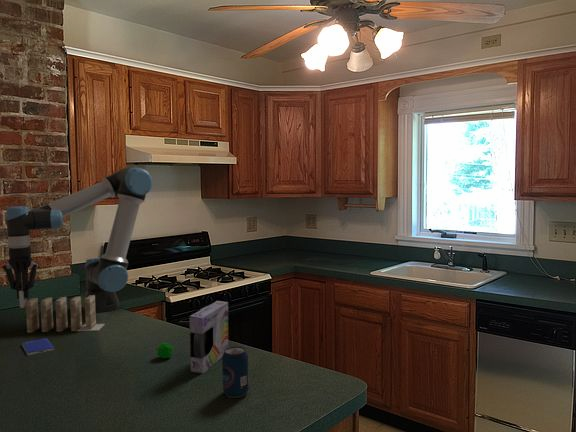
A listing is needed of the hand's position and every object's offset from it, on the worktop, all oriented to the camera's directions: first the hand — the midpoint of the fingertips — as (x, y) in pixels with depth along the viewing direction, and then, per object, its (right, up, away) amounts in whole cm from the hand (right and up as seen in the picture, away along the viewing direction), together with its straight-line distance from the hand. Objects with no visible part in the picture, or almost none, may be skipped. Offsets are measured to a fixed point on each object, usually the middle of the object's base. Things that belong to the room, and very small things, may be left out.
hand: (23, 306), depth 194 cm
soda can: (+88, -13, -58) cm, 107 cm away
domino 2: (+9, -9, +1) cm, 13 cm away
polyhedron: (+63, -11, -31) cm, 71 cm away
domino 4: (+20, -9, +2) cm, 22 cm away
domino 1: (+3, -9, +1) cm, 10 cm away
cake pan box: (+78, -11, -36) cm, 87 cm away
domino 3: (+14, -9, +2) cm, 17 cm away
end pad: (+25, -9, +2) cm, 27 cm away
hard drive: (+15, -11, -20) cm, 28 cm away
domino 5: (+25, -8, +2) cm, 27 cm away
